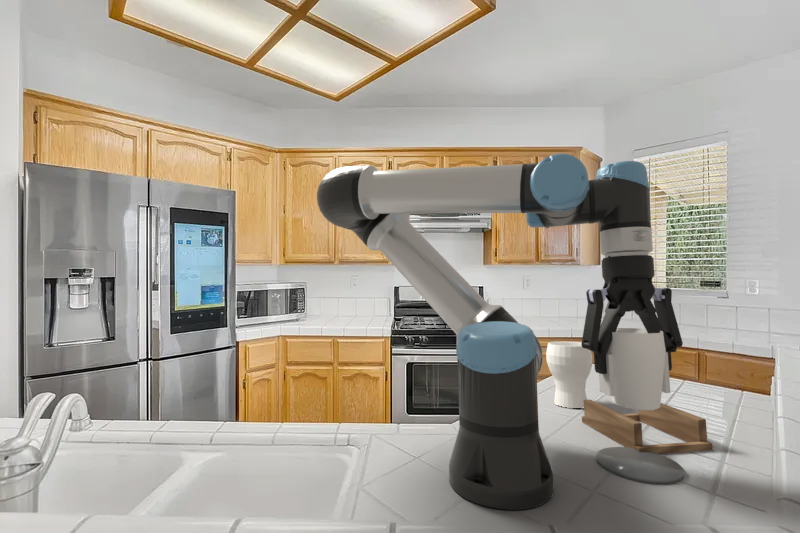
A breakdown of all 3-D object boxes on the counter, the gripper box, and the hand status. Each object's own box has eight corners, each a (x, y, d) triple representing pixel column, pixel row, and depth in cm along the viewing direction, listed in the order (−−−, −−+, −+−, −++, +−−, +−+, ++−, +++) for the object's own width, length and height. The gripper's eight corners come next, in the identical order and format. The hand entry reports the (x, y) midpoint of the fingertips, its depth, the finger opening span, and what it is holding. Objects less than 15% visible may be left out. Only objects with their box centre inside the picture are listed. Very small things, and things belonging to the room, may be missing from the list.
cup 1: (596, 402, 97) (593, 342, 98) (592, 413, 88) (588, 347, 89) (552, 396, 103) (550, 340, 104) (544, 406, 94) (541, 345, 95)
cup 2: (602, 408, 61) (598, 332, 62) (606, 394, 69) (602, 327, 70) (671, 416, 56) (666, 334, 57) (667, 401, 64) (662, 329, 65)
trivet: (629, 487, 55) (629, 482, 56) (581, 452, 67) (581, 449, 67) (704, 481, 57) (704, 476, 57) (644, 448, 69) (644, 444, 69)
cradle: (639, 455, 66) (637, 425, 66) (582, 422, 83) (580, 398, 83) (712, 450, 67) (710, 421, 68) (641, 418, 84) (640, 395, 85)
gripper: (578, 254, 59) (586, 402, 58) (704, 252, 62) (715, 395, 60) (553, 258, 67) (560, 389, 65) (667, 257, 69) (676, 383, 68)
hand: (634, 392), depth 63 cm, fingers closed on cup 2, 9 cm apart
